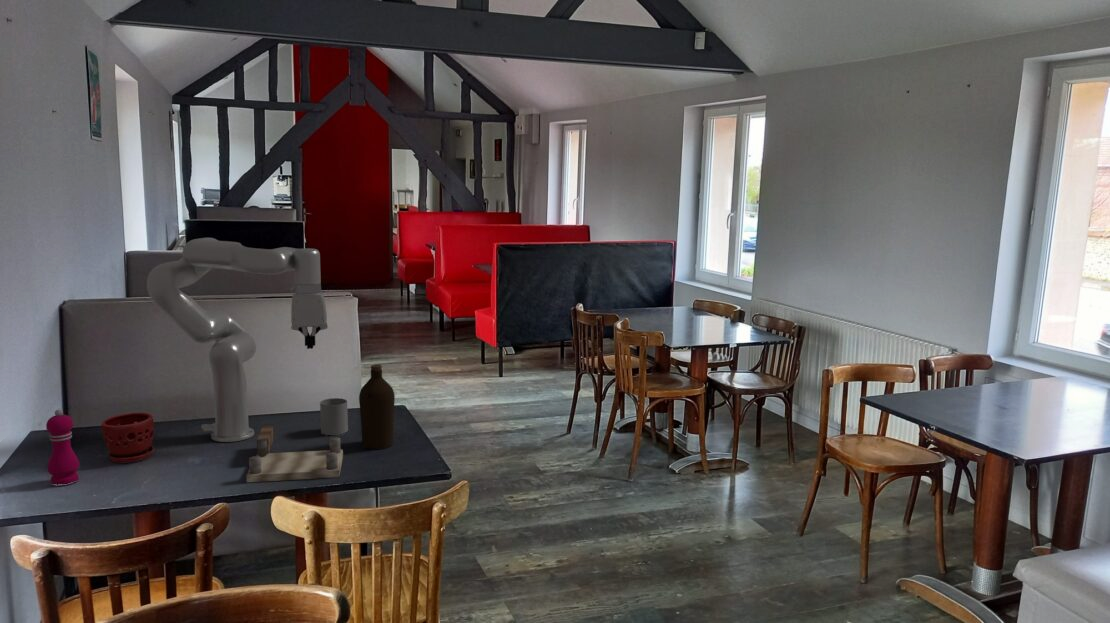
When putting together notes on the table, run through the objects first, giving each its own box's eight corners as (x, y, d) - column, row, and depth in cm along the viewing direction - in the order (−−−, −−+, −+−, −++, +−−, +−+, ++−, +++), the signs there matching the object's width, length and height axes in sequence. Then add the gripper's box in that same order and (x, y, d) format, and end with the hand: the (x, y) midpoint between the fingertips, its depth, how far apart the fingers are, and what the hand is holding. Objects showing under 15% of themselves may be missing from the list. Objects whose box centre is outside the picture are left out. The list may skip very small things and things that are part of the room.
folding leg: (268, 455, 223) (267, 441, 223) (256, 455, 223) (256, 442, 222) (273, 438, 238) (273, 425, 237) (263, 438, 237) (262, 426, 237)
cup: (319, 429, 255) (318, 399, 254) (345, 426, 259) (344, 397, 257) (323, 437, 248) (322, 406, 246) (349, 433, 251) (349, 403, 250)
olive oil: (397, 448, 238) (396, 368, 234) (361, 451, 235) (359, 370, 231) (393, 437, 248) (391, 360, 244) (358, 440, 245) (356, 362, 241)
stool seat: (246, 482, 210) (245, 461, 209) (257, 460, 226) (256, 440, 225) (339, 477, 215) (338, 456, 214) (343, 455, 231) (342, 436, 230)
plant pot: (141, 447, 236) (138, 409, 234) (164, 456, 228) (161, 417, 226) (95, 459, 225) (92, 419, 223) (118, 469, 218) (115, 428, 216)
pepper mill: (46, 489, 203) (39, 414, 200) (51, 479, 210) (44, 407, 206) (78, 485, 206) (72, 411, 203) (82, 475, 213) (76, 404, 209)
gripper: (280, 291, 234) (283, 351, 237) (332, 290, 237) (334, 349, 240) (284, 287, 241) (286, 346, 244) (334, 287, 244) (336, 344, 247)
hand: (310, 347), depth 242 cm, fingers closed
